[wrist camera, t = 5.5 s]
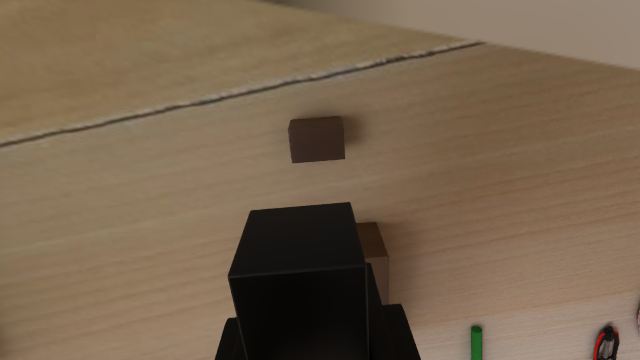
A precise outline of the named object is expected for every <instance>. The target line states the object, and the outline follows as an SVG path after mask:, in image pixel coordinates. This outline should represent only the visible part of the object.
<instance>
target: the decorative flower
mask: <svg viewBox="0 0 640 360" xmlns="http://www.w3.org/2000/svg"><path fill="white" fill-rule="evenodd" d="M471 360H482V329H481V328H480V327H478V326H474V327H472V328H471Z"/></svg>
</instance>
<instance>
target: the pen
mask: <svg viewBox="0 0 640 360" xmlns="http://www.w3.org/2000/svg"><path fill="white" fill-rule="evenodd" d="M613 339H614V346H613V352H612V355H611V356H609V357H608V352H609V347H610V341H613ZM604 340H605V344H604V350H603V356H601V357H599V358H598V356H599V350H600V346H601V345H602V343H603V341H604ZM618 346H619V334H618V332H617V331H613V328H612V326H609V327H608V328H606V329H605V330H604V333H603V332H602V333H601V334H600V336H599V338H598V340H597V342H596V345H595V352H594V359H593V360H616V357H617V356H616V355H617V350H618Z"/></svg>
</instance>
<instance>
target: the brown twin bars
mask: <svg viewBox="0 0 640 360" xmlns="http://www.w3.org/2000/svg"><path fill="white" fill-rule="evenodd" d="M288 133H289V142H290V150H291V159H292V163H302V162H315V161H327V160H340V159H345V146H344V127H343V123H342V120H341V117H340V116H334V117H322V118H310V119H298V120H291V121H290V125H289V128H288ZM356 226H357V230H358V233H359V237H360V241H361V245H362V249H363V253H364V257H365V261H366V263H369V262H370V263H371V266H372V269H373V273H374V277H375V280H376V284H377V288H378V291H379V295H380V298H381V302H382V305H389V256H388V253H387V250H386V248H385V245H384V242H383V239H382V236H381V234H380V231H379V228H378V225H377V223H376V222H373V223H360V224H356Z"/></svg>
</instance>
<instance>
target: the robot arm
mask: <svg viewBox="0 0 640 360" xmlns="http://www.w3.org/2000/svg"><path fill="white" fill-rule="evenodd" d="M366 265H367V295H368V331H369V360H421V358H420V355H419V352H418V350H417V347H416V344H415V341H414V338H413V335H412V332H411V330H410V327H409V324H408V321H407V318H406V315H405V312H404V310H403V307H402V305H401V304H389V305H382V302H381V298H380V295H379V291H378V288H377V284H376V280H375V277H374V273H373V269H372V266H371V263H370V262H369V263H366ZM215 360H247V357H246V353H245V349H244V345H243V340H242V336H241V332H240V328H239V323H238V319H237V317H235V318H228V319H227V321H226V323H225V326H224V330H223V333H222V337H221V340H220V343H219V347H218V350H217V354H216V357H215Z"/></svg>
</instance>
